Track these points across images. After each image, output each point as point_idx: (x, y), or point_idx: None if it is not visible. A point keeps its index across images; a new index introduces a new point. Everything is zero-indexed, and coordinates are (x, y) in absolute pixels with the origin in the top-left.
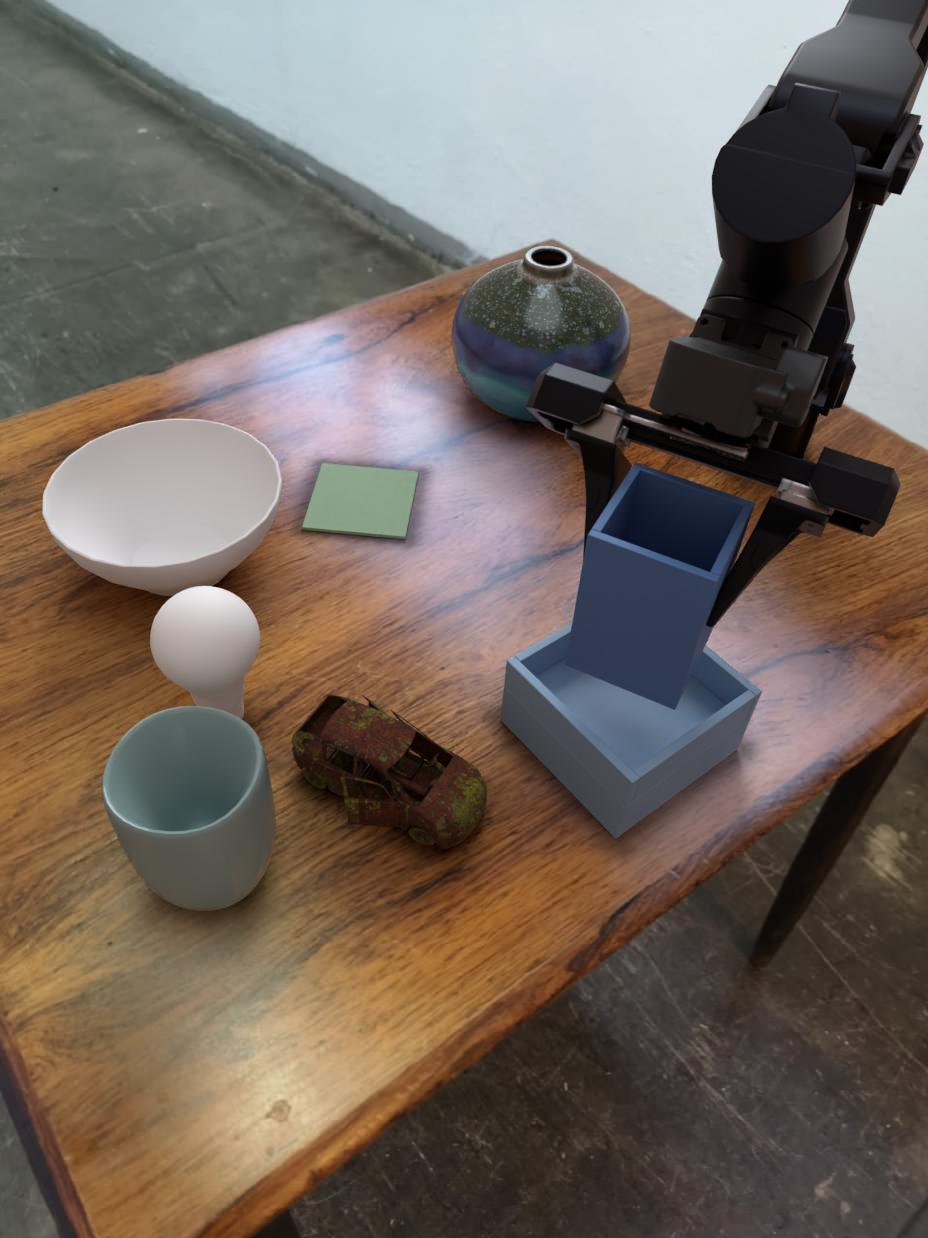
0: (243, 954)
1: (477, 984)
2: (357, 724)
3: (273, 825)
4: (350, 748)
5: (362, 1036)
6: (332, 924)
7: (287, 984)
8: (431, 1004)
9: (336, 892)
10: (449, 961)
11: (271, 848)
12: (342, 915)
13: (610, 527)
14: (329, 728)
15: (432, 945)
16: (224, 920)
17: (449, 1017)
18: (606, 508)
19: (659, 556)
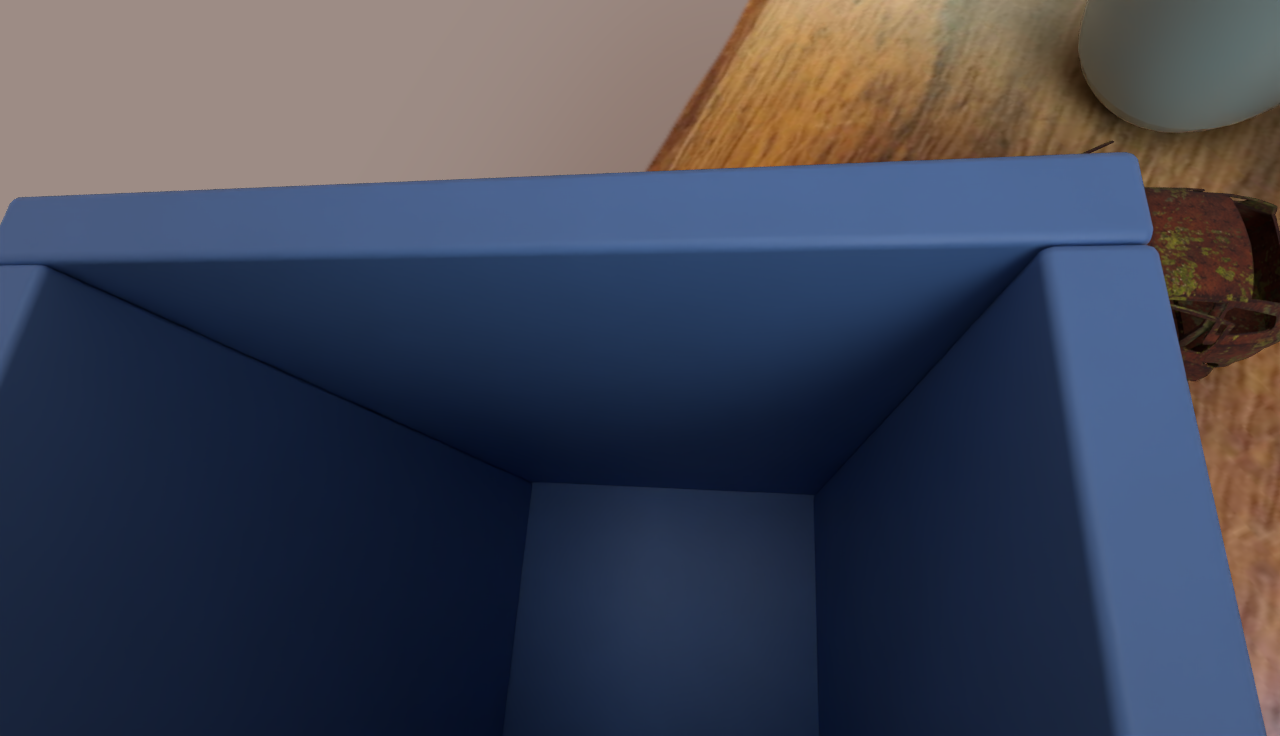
0: (1017, 22)
1: (724, 129)
2: (1182, 241)
3: (1142, 15)
4: (1147, 190)
5: (818, 25)
6: (940, 100)
7: (938, 23)
8: (764, 86)
9: (967, 134)
10: (770, 134)
11: (1109, 34)
12: (936, 115)
13: (995, 624)
14: (1226, 214)
15: (801, 140)
16: (1077, 38)
17: (736, 85)
18: (1234, 677)
19: (417, 210)
